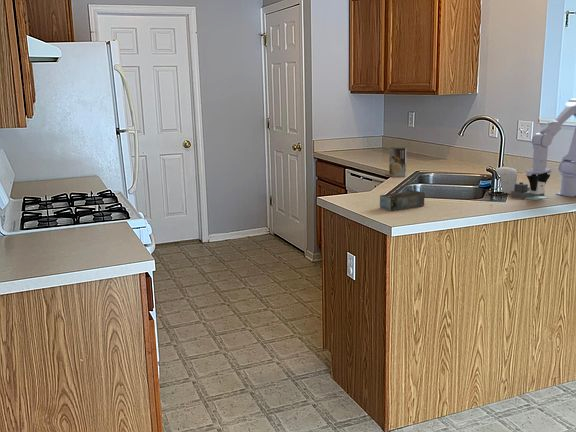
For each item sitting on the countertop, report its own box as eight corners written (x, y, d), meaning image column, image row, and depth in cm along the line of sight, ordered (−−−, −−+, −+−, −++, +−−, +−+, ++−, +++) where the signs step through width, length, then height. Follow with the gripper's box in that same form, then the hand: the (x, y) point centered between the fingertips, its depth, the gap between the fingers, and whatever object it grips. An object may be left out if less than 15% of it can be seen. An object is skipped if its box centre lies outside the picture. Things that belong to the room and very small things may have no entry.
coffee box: (406, 175, 328) (407, 147, 324) (405, 177, 322) (406, 148, 318) (390, 174, 330) (390, 147, 327) (388, 176, 324) (389, 148, 321)
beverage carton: (378, 208, 245) (378, 193, 243) (412, 203, 254) (413, 189, 253) (390, 212, 238) (391, 196, 237) (425, 206, 247) (426, 191, 246)
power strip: (531, 193, 272) (532, 178, 271) (544, 195, 266) (545, 181, 265) (511, 196, 266) (512, 181, 264) (523, 198, 260) (524, 183, 258)
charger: (535, 191, 263) (536, 180, 262) (544, 193, 259) (545, 182, 258) (529, 192, 261) (529, 181, 259) (537, 194, 257) (538, 183, 256)
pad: (538, 196, 264) (538, 195, 264) (547, 198, 260) (547, 197, 260) (525, 198, 260) (525, 197, 260) (534, 200, 256) (534, 199, 256)
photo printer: (516, 193, 273) (518, 167, 270) (514, 194, 269) (516, 168, 266) (493, 191, 278) (495, 166, 275) (492, 192, 274) (493, 167, 271)
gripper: (542, 158, 263) (540, 187, 266) (521, 160, 256) (518, 190, 259) (556, 159, 257) (553, 189, 260) (534, 162, 250) (532, 192, 253)
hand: (537, 190), depth 259 cm, fingers closed on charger, 4 cm apart
